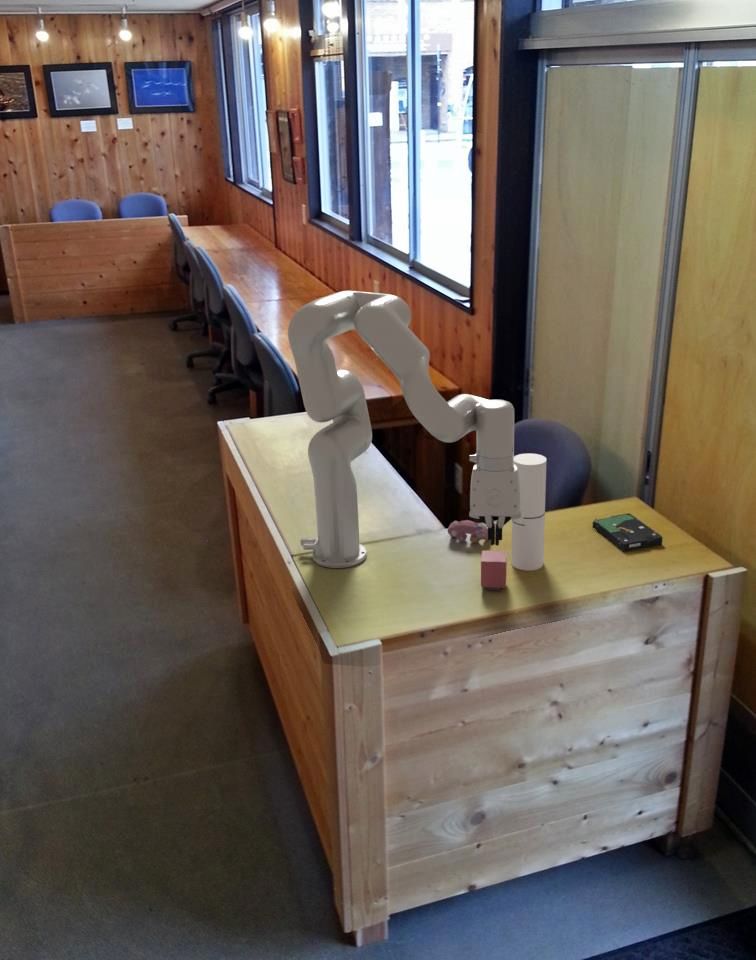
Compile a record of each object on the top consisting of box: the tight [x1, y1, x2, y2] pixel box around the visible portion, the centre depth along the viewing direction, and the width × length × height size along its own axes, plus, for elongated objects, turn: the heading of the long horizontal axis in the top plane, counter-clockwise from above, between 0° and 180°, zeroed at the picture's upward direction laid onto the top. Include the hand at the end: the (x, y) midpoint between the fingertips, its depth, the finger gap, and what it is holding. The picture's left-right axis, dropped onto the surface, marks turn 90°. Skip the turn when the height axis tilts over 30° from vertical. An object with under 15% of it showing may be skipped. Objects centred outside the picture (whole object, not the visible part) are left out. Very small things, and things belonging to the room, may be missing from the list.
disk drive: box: [592, 512, 664, 553], centre depth 220 cm, size 10×3×15 cm
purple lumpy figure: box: [447, 519, 489, 544], centre depth 220 cm, size 10×5×7 cm, turn 71°
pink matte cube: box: [480, 550, 508, 589], centre depth 198 cm, size 5×5×6 cm
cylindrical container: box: [510, 453, 547, 572], centre depth 205 cm, size 7×7×25 cm
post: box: [487, 587, 501, 591], centre depth 198 cm, size 3×3×7 cm
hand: (495, 542), depth 195 cm, fingers closed
